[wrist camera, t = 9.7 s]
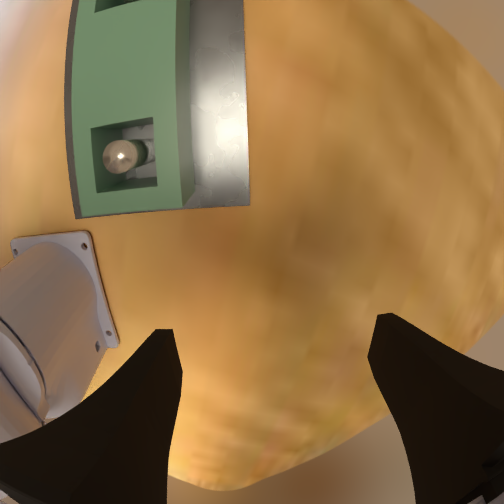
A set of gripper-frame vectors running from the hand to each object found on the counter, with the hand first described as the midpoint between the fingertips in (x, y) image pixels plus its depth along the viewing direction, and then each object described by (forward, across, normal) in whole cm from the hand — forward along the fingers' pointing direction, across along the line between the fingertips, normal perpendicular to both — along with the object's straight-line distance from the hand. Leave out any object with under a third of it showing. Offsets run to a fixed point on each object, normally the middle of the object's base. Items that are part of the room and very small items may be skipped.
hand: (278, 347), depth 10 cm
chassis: (+9, +6, -11) cm, 16 cm away
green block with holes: (+8, +6, -11) cm, 15 cm away
